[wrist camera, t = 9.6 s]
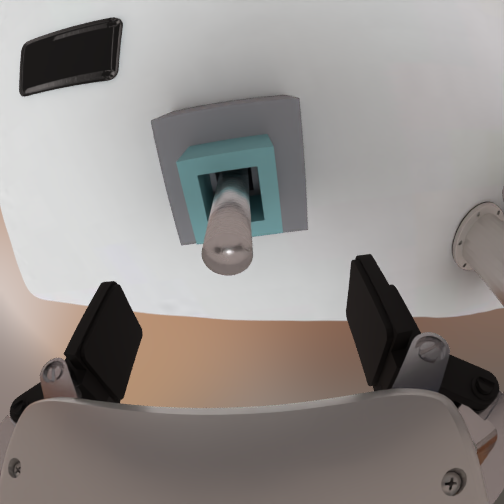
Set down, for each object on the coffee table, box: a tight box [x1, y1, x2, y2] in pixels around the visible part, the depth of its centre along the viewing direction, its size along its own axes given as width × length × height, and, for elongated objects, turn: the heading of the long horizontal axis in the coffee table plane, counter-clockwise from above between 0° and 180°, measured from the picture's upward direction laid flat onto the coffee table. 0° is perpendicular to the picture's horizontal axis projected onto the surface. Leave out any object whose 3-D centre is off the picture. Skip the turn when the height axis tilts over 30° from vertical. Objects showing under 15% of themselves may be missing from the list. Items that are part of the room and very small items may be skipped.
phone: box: [19, 18, 123, 96], centre depth 22 cm, size 8×1×15 cm
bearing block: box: [151, 95, 308, 245], centre depth 27 cm, size 12×12×8 cm
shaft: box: [202, 168, 253, 275], centre depth 19 cm, size 2×2×14 cm
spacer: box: [176, 134, 283, 244], centre depth 22 cm, size 6×6×5 cm
